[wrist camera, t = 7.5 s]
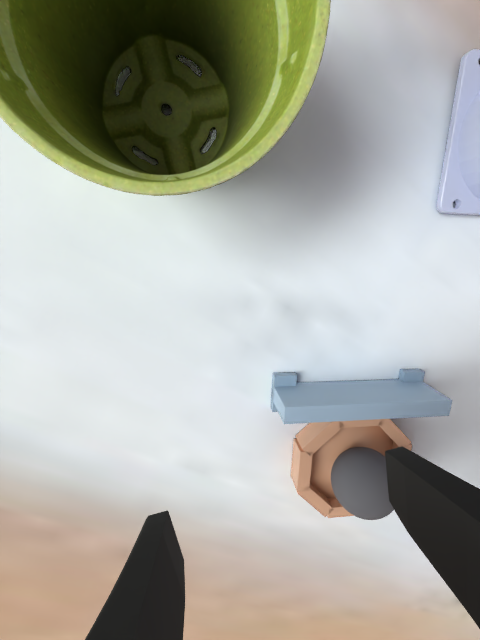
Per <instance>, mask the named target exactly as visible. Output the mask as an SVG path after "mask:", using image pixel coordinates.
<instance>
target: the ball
mask: <svg viewBox="0 0 480 640" xmlns="http://www.w3.org/2000/svg"><path fill="white" fill-rule="evenodd" d="M331 485H332V489H333V492H334V494H335V496H336V498H337V500H338V501H339V503H340V504H341V505H342V506H343V507H344V508H345V509H346V510H347V511H348V512H349V513H351V514H353V515H354V516H356V517H359V518H362V519H367V520H376V519H381V518H383V517H385V516H387V515H389V514H390V513H391V512H392V511H393V510H394V508H393V506H392V505H391V503H390V501H389V493H388V482H387V471H386V459H385V456H384V455H383V454H381V453H380V452H378V451H376V450H374V449H371V448H367V447H353V448H350V449H347V450H345V451H344V452H342V453H341V454H340V455H339V456H338V457H337V458H336V460H335V462H334V464H333V466H332V470H331Z"/></svg>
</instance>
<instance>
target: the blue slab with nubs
mask: <svg viewBox="0 0 480 640" xmlns="http://www.w3.org/2000/svg"><path fill="white" fill-rule="evenodd" d="M424 374H425V372H424V371H423V370H421V369H400V374H399V379H389V380H358V381H326V382H297V375H296V373H295V372H285V373H273V378H272V395H271V410H272V412H278V413H279V415H280V417H281V419H282V421H283V423H284V424H294V423H314V422H334V421H353V420H373V419H393V418H413V417H433V416H449V414H450V409H451V404H452V400H451V399H450V398H448V397H446V396H445V395H443V394H442V393H440V392H438V391H437V390H435V389H434V388H432V387H431V386H429V385H427V384H426V383H424V382H423V379H424Z"/></svg>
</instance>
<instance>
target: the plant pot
mask: <svg viewBox="0 0 480 640" xmlns="http://www.w3.org/2000/svg"><path fill="white" fill-rule="evenodd" d="M330 2H331V0H0V117H1V118H2V119H3V121H4V122H5V123H6V124H7V125H8V126H9V127H10V128H11V129H12V130H13V131H14V132H16V133H17V134H18V135H19V136H20V137H21V138H22V139H23V140H24V141H26V142H27V143H28V144H30V145H31V146H32V147H33V148H35V149H36V150H37V151H39V152H40V153H41V154H43V155H44V156H45V157H47V158H48V159H50V160H51V161H53V162H55V163H56V164H58V165H60V166H61V167H63V168H65V169H66V170H68V171H70V172H72V173H74V174H76V175H78V176H80V177H82V178H84V179H86V180H89V181H92V182H94V183H97V184H100V185H103V186H106V187H109V188H112V189H116V190H120V191H123V192H129V193H134V194H142V195H153V196H162V195H180V194H187V193H191V192H196V191H200V190H204V189H208V188H211V187H213V186H216V185H219V184H221V183H223V182H225V181H227V180H230V179H232V178H234V177H235V176H237V175H239V174H241V173H242V172H244V171H245V170H247V169H248V168H250V167H251V166H253V165H254V164H255V163H256V162H257V161H259V160H260V159H261V158H262V157H263V156H265V155H266V154H267V153H268V152H269V151H270V150H271V149H272V148H273V147H274V146H275V144H276V143H277V142H278V141H279V140H280V139H281V137H282V136H283V135H284V134H285V132H286V131H287V130H288V128H289V127H290V126H291V124H292V123H293V121H294V120H295V118H296V116H297V115H298V113H299V111H300V109H301V108H302V106H303V104H304V102H305V100H306V98H307V96H308V94H309V92H310V89H311V87H312V84H313V82H314V79H315V77H316V74H317V70H318V68H319V65H320V62H321V58H322V54H323V50H324V45H325V40H326V35H327V29H328V22H329V15H330ZM179 55H183V56H185V57H187V58H189V59H190V60H192V61H193V62H195V63H196V64H197V65H198V66H199V67H200V68H201V72H202V75H201V77H199V76H198V75H196V74H195V73H194V72H193V71H192V70H191V69H190V68H189V67H188V66H187V65H185V64H184V63H182V62H180V61H179V60H177V59H176V57H177V56H179ZM126 67H129V68H131V74H130V75H129V76H128V78H127V80H126V81H125V83H124V85H123V87H122V90H120V91H119V93H120V94H119V95H118V96H116V93H115V87H116V81H117V78H118V76H119V74H120V73H121V71H122V70H123V69H125V68H126ZM163 104H168V105H170V107H171V108H172V113H171V114H170V115H168V116H167V115H165V114H164V113H162V111H161V106H162V105H163ZM213 127H215V128H216V131H217V132H216V139H215V140H214V142H213V143H212V145H211V147H210V149H209V150H208V151H207V152H206V153H203V154H201V153H200V148H201V147H202V146H203V144H204V143H205V141H206V140H207V138H208V136H209V133H210V130H211V128H213ZM133 146H137V147H138V148H139V149H140V150H141V151H143V152H144V153H145V154H147V155H149V156H150V157H152V158H154V159H157V161H158V164H156V165H152V164H151V163H149V162H147V161H146V160H144V159H140V158H138V157H137V156H136V155H135V154H134V153H133V151H132V147H133Z"/></svg>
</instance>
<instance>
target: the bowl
mask: <svg viewBox="0 0 480 640" xmlns="http://www.w3.org/2000/svg"><path fill="white" fill-rule="evenodd" d="M296 438H297V439H294V442H293V455H292V467H291V478H292V480H293V483H294V485H295V488H296V490H297V492H298V494H299V495H300V496H301V497H302V498H303V499H305V500H306V501H307V502H308V503H309V504H310V505H312V506H313V507H314V508H315V509H316V510H317V511H319V512H320V513H321V514H322V515H323V516H325V517H326V516H327V517H328V518H333V517H344V516H354V515H353V514H351V513H349V512H348V511H347V510H346V509H345V508H344V507H343V506H342V505H341V504H340V503H339V501H338V500H337V498H336V496H335V494H334V492H333V489H332V485H331V470H332V466H333V464H334V462H335V460H336V458H337V457H338V456H339V455H340V454H341V453H342V452H344V451H345V450H347V449H350V448H353V447H367V448H371V449H374V450H376V451H378V452H380V453H381V454H383V455H384V456H385V451H387V450H391V449H394V448H398V447H404V448H406V449H408V450H410V451H411V449H412V444H411V441H410V440H409V439H408V438H407V437H406V436H405V435H404V434H403V432H402V431H401V430H400V429H399V428H398V427H397V426H396V425H395V424H394V423H393V422H392V421H391V419H373V420H353V421H334V422H314V423H309V424H308V425H307V426H306V427H305V428H303V429H302V430H301V431H300V432H299V433H298V434H297V435H296Z"/></svg>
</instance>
